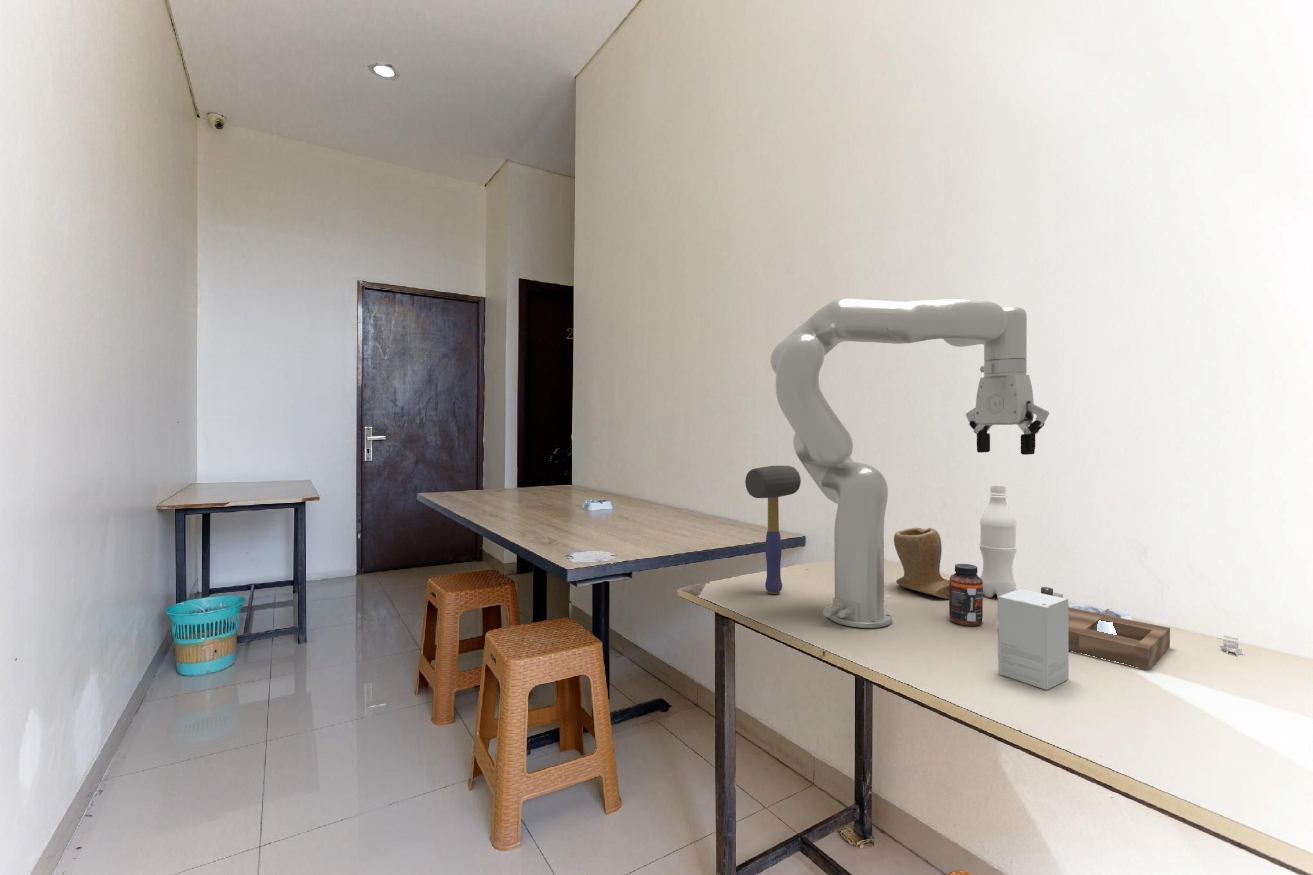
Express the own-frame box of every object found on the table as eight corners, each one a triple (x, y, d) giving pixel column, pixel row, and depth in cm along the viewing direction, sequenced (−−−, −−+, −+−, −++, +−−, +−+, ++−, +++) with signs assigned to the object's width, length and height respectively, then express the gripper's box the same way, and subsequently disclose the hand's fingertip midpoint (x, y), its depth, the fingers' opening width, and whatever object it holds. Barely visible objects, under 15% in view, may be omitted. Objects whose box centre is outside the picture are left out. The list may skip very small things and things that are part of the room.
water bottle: (1006, 592, 139) (1007, 485, 138) (1022, 601, 132) (1022, 488, 131) (974, 591, 140) (974, 485, 139) (988, 600, 133) (988, 488, 132)
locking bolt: (1048, 612, 113) (1048, 593, 113) (1030, 609, 115) (1030, 590, 115) (1062, 604, 118) (1063, 586, 118) (1045, 600, 120) (1045, 583, 120)
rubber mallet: (780, 585, 147) (779, 463, 146) (804, 592, 141) (803, 465, 140) (743, 594, 140) (742, 466, 139) (766, 601, 134) (765, 467, 133)
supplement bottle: (981, 629, 115) (981, 570, 115) (947, 623, 118) (947, 567, 118) (983, 620, 120) (983, 564, 120) (950, 615, 123) (950, 560, 123)
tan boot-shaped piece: (882, 587, 145) (882, 525, 144) (921, 581, 149) (921, 522, 148) (932, 605, 130) (932, 536, 130) (972, 598, 135) (973, 532, 134)
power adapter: (1242, 655, 102) (1242, 637, 102) (1240, 659, 100) (1240, 641, 100) (1217, 650, 104) (1218, 632, 104) (1215, 654, 103) (1216, 636, 103)
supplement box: (1070, 679, 93) (1071, 598, 92) (1046, 691, 89) (1047, 607, 88) (1020, 663, 99) (1021, 587, 99) (996, 673, 95) (996, 594, 95)
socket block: (1147, 670, 95) (1148, 649, 95) (999, 633, 112) (999, 615, 112) (1169, 647, 105) (1170, 627, 105) (1029, 616, 122) (1029, 599, 122)
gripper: (955, 372, 129) (955, 452, 129) (1034, 365, 113) (1033, 456, 113) (979, 373, 132) (979, 451, 132) (1059, 366, 116) (1059, 454, 116)
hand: (1004, 453), depth 123 cm, fingers open, 9 cm apart
